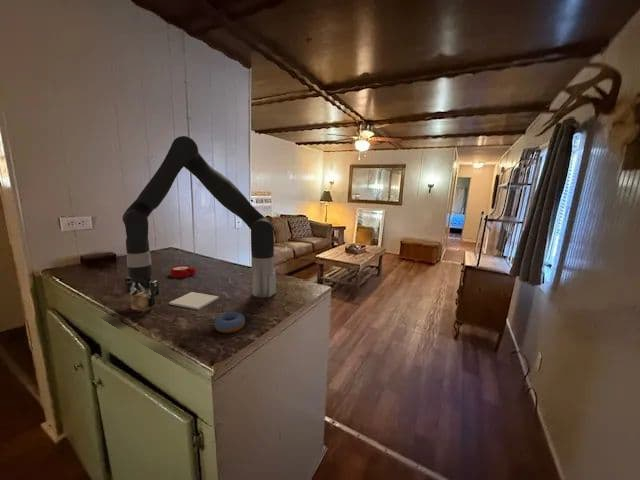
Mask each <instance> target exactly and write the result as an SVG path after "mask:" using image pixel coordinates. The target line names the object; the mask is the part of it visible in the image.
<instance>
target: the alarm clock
mask: <svg viewBox="0 0 640 480" xmlns="http://www.w3.org/2000/svg"><path fill="white" fill-rule="evenodd" d="M166 270H167V271H170V274H169V276H170V277H171V278H180V279H185V278H187V277H188V276H195V275H196V273H197V270H196V267H191V266H190V265H187V264H181V265H175V266H172V267H171V268H170V269H166Z"/></svg>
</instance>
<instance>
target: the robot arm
mask: <svg viewBox="0 0 640 480" xmlns="http://www.w3.org/2000/svg"><path fill="white" fill-rule="evenodd" d="M183 168H185V169H186V170H187V171H188V172H190V173H191V174H192V175H193V176H194V177H195V178H197V179H198V180H199V182H200V183H201V184H202V185H203V186H204V188H206V190H207V191H208V192H209V193H210V195H212V196H213V197H214V198H215V199H216V201H218V202H219V203H220V204H221V205H222V206H223V207H224V208H226V209H227V211H228V210H229V212H231V213H233V214H234V215H235V216H236V217H239V219H241V220H242V221H243V222H244V223H245V225H246V226H247V227H248V228H249V229H250V246H251V247H250V248H251V250H250V251H251V275H252V276H251V277H252V296H253V297H255V298H263V299H265V298H271V297H272V296H274V295H275V294H276V293H277V289H276V288H277V287H276V286H277V281H276V280H277V277H276V276H277V273H276V272H275V264H274V263H275V262H274V261H275V259H274V257H275V256H274V255H275V253H274V252H275V248H274V247H275V244H274V243H275V238H274V236H275V234H274V233H275V232H274V225H273V223H272V222H271V221H270V220H269V218H267V217H265V216H264V215H263V214H262V213H261V212H259V211H258V210H257V208H255V207H254V206H253V205H252V204H251V203H250V201H249V199H248V198H247V197H246V196H245V195H244V194H243V192H241V190H240V189H239V188H238V187H237V186H236V185H235V184H234V183H233V182H232V181H231V180H230V179H229V178H228V177H227V176H225V175H224V174H223V173H221V172H220V171H218V170H217V169H215V168H213V167H212V166H211V165H210V164H209V163H208V161H206V159H205V158H204V157H203V156H202V155H201V154H200V152H199V147H198V144H197V142H196V141H195V140H194V139H193V138H192V137H190V136H187V135H186V136H185V135H181V136H178V137H176V138H175V139H174V140H173V141H172V143H171V146H170V147H169V149H168V151H167V153H166V155H165V157H164V159H163V161H162V162H161V165H160V166H159V167H158V169H157V170H156V172H155V173H154V175H153V176H152V177H151V179H150V180H149V181H148V183H147V184H146V185H145V186H144V188H143V189H142V191H141V192H140V193H139V195H138V197H137V198H136V199H135V200H134V201H133V202H132V203H131V204H130V206H128V208H127V209H126V211H124V213H123V215H122V217H121V218H122V222H123V225H124V227H125V235H126V239H125V248H126V249H125V250H126V266H127V274H128V276H127V277H125V278H124V285H125V292H126V294H129V295H130V296H133V295H135V294H138V293H139V291H141V292H143V293H144V294H146V295H147V297H148V307H149V308H151V307H154V306H155V303H156V297H158V296H160V287H159V286H160V285H159V281H158V279H156V280H152V279H151V278H152V277H151V276H152V275H153V265H152V256H151V251H150V242H149V219H148V218H149V216H150V215H151V214H152V212H153V211H154V210H156V209H157V208H158V207H159V206H160V205H161V203H162V202H163V201H164V199H165V198H166V197H167V195H168V194H169V192H170V189H171V188H172V186H173V183H174V182H175V180H176V178H177V176H178V175H179V173H180V172H181V170H182V169H183ZM149 292H150V293H151V295H150V294H149ZM154 308H155V307H154ZM151 309H152V308H151Z"/></svg>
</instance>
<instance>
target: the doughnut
mask: <svg viewBox="0 0 640 480" xmlns="http://www.w3.org/2000/svg"><path fill="white" fill-rule="evenodd" d="M245 323H246V318H245V315H244V314H242V313H241V312H238V311H228V312H223V313H221V314H219V315H217V316H216V317H215V318H214V321H213V325H214V329H215V331H217V332H219V333H224V334H229V333H235V332H237V331H240V330H242V329H243V327H244V326H245V325H246V324H245Z"/></svg>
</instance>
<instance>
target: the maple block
mask: <svg viewBox="0 0 640 480" xmlns="http://www.w3.org/2000/svg"><path fill="white" fill-rule="evenodd" d="M149 294H150V295H151V293H150V292H149ZM129 299H130V305H131V310H132V309H135V310H139V311H145V310H147V311H149V310H151V309H153V307H151V309H150V308H149V307H148V297H147V295H146V294H144V293H143V291H141V292H138V293H137V294H135V295H133V296H131V295H130V298H129ZM155 306H156V307H157V304H156V302H155ZM155 306H154V308H156V307H155ZM148 309H149V310H148ZM139 311H138V312H139ZM145 312H146V311H145Z"/></svg>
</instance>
